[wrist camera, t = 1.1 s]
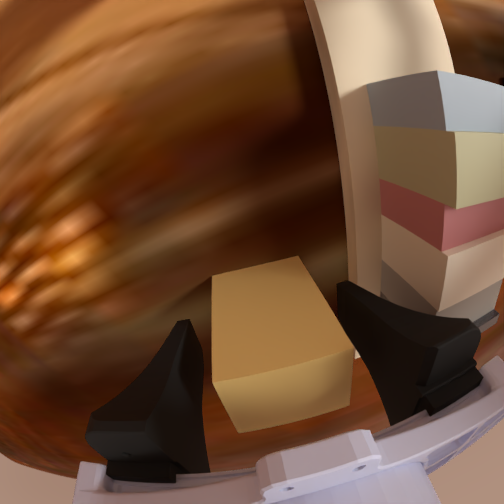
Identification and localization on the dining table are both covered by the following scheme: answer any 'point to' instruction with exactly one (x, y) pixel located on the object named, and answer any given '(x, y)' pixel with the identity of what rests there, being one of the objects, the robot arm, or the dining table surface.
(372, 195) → the shelf board
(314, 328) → the tan rectangular block
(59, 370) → the dining table surface
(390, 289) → the books
